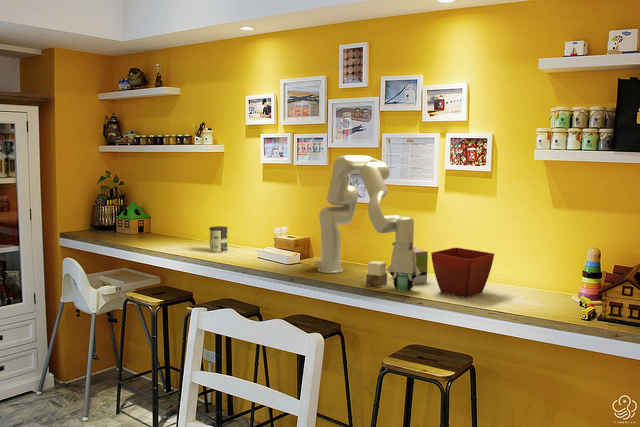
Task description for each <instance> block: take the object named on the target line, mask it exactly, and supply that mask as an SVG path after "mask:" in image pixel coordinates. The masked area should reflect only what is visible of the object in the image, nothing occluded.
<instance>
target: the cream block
mask: <svg viewBox="0 0 640 427" xmlns="http://www.w3.org/2000/svg"><path fill="white" fill-rule="evenodd" d="M386 271H387V262H386V261H378V260H377V261H376V260H372V261H370V262H368V263H367V274H369V275H377V276H381V275H383V274H385V273H387V272H386Z"/></svg>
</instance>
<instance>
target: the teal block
mask: <svg viewBox="0 0 640 427" xmlns="http://www.w3.org/2000/svg"><path fill="white" fill-rule="evenodd" d="M408 280H409V277H408V275H405V274H399V275H397V288H396V290H397V289H400V290H408ZM408 291H409V290H408Z"/></svg>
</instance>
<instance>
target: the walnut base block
mask: <svg viewBox="0 0 640 427" xmlns="http://www.w3.org/2000/svg"><path fill="white" fill-rule="evenodd" d="M365 276H366V277H365V279H366V280H365V281H366V282H365V284H366V286H368V285H374V286H373V287H376V286H382V287H384V286H385V284H386V283H387V284H388V272H386V273H385V274H383V275H381V276H377V275H369V274H368V273H366V275H365ZM387 284H386V285H387ZM383 285H384V286H383Z"/></svg>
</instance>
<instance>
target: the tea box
mask: <svg viewBox="0 0 640 427" xmlns="http://www.w3.org/2000/svg"><path fill="white" fill-rule="evenodd" d="M393 249H395V246H393V248H392V250H393ZM413 249H414V250H415V256H416V266H417V268H418V269H419V270H420V272H421V274H419V275H418V276H417V277H415V278H414V279H413V283H420V284H426V283H428V261H429V260H428V259H429V257H428V253H429V252H428V250H424V249H421V248H420V247H419V248H418V247H416V246H413ZM399 274H403V273H399ZM399 274H398V275H399ZM414 274H416V271H415V272H414V273H413V275H414ZM405 275H408V274H405Z"/></svg>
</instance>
